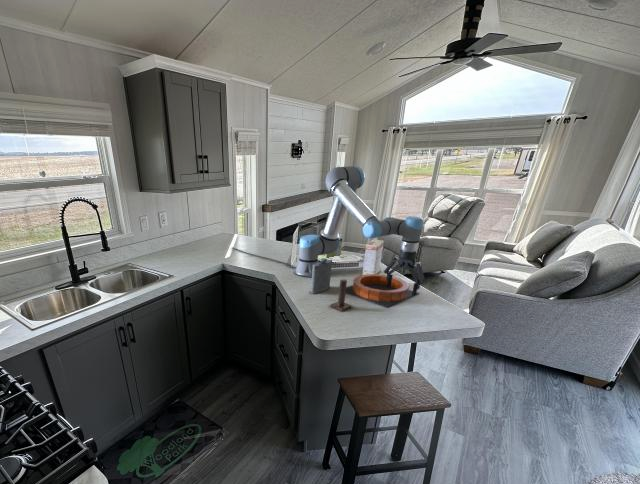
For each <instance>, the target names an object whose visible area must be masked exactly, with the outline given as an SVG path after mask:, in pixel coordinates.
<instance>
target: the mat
mask: <svg viewBox="0 0 640 484" xmlns="http://www.w3.org/2000/svg"><path fill="white" fill-rule="evenodd" d="M364 286H366V287H369V288H373V289H378V290H396V289H395V288H393V287H388V288H387V287H386V285H380V284H368V285H364ZM412 291H413V290H410V289H409V290H408V295H407V297H406V298H405V299H402V300H400V301H392V302H391V301H390V302H386V301H376V300H370V299H366V298H364V297H361V296H359V295H357V294H356V293H354V291H353V285H351V286H348V287H347V286H346V293H345V294H350V295H352V296H355V297H357V298H360V299H363V300H366V301H368V302H371V303H373V304H376V305H379V306H382V307H384V308H389V307H392V306H394V305H396V304H399V303H400V302H403V301H405V300H407V299H409V298H412V297H413V296H412ZM416 295H419V292H417V293H416Z"/></svg>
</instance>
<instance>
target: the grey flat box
mask: <svg viewBox="0 0 640 484" xmlns="http://www.w3.org/2000/svg"><path fill="white" fill-rule="evenodd" d="M332 263H333V262H332V260H327V259H326V258H321V262H318V263H317V264H313V270H312V277H311V286H310V289H311V290H310V294H312V295H313V294H314V295H315V294H319V293H322V292H324V291H326V290H327V291H328V289H330V287H331V275H332V266H333V265H332Z"/></svg>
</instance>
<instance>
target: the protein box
mask: <svg viewBox="0 0 640 484" xmlns="http://www.w3.org/2000/svg"><path fill="white" fill-rule="evenodd" d="M339 238H340V246H339V248H338V250H337V251H335V252H333V253H330V254H323V255H318V257H319V258H329V257H334V256H340V255H341V256H342V248H343V247H342V245H343V238H341V237H339Z"/></svg>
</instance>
